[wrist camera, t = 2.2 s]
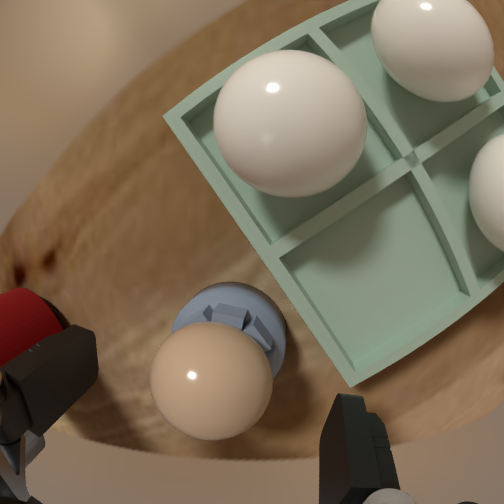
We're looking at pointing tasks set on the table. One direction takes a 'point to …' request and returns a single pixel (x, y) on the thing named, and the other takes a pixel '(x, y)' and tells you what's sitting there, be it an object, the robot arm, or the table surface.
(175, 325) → the egg cup
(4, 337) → the beverage can
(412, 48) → the white egg
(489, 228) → the white egg
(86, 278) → the table surface
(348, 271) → the egg carton
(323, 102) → the white egg
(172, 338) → the brown egg
